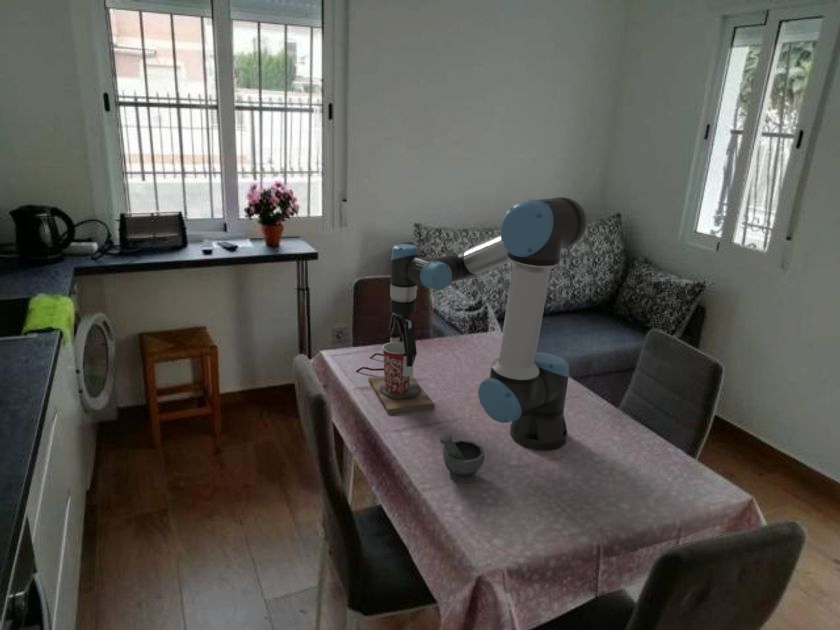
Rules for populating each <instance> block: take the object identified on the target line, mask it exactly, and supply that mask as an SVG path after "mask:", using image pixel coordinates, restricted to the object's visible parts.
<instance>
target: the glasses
mask: <svg viewBox="0 0 840 630" xmlns="http://www.w3.org/2000/svg"><path fill="white" fill-rule="evenodd" d="M375 356H380V357H381V356H382V357H384V355H383V353H378V352H375V353H373V355H371V356H369V359H370V358H371V359H373V358H374V357H375ZM362 370H368V371H373V372H374V371H377V372H378V371H380V372H381V371H384V367H382V368H381V367H380V368H371V367H368V366H367V367H366V366H362V367H359V368H358V369H356V370H355V371H356V372H355V373H358V372H360V371H362Z"/></svg>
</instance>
